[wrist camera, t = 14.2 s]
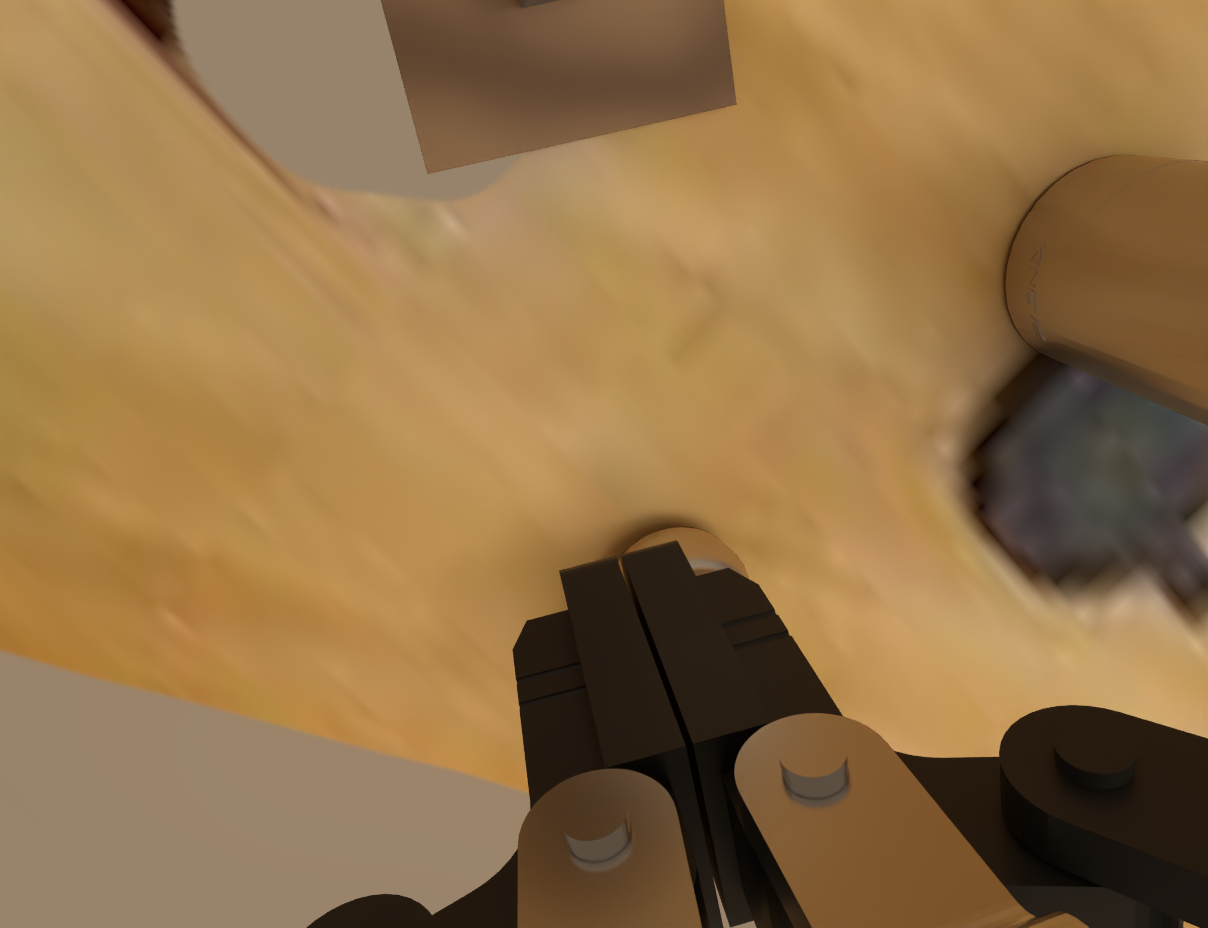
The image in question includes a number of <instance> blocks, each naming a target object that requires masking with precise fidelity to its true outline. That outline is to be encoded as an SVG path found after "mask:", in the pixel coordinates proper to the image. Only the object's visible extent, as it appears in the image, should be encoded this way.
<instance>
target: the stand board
mask: <svg viewBox="0 0 1208 928" xmlns="http://www.w3.org/2000/svg"><path fill="white" fill-rule="evenodd" d="M381 2H382V6H383V10H384V14H385V17H386V21H387V25H388V28H389V32H390V36H391V40H392V43H393V47H394V50H395V54H396V58H397V62H398V66H399V69H400V73H401V76H402V80H403V84H404V88H405V91H406V95H407V99H408V103H409V106H410V110H411V114H412V117H413V121H414V125H415V129H416V132H417V136H418V140H419V143H420V147H421V151H422V155H423V159H424V162H425V166H426V169H427V173H428V174H430V173H434V172H439V171H443V170H448V169H452V168H456V167H461V166H465V165H470V164H474V163H478V162H483V161H487V160H492V159H496V158H501V157H505V156H510V155H514V154H519V153H523V152H528V151H532V150H537V149H541V148H545V147H550V146H554V145H559V144H563V143H568V142H572V141H577V140H581V139H585V138H590V137H594V136H599V135H603V134H608V133H612V132H617V131H621V130H625V129H630V128H634V127H639V126H643V125H648V124H652V123H657V122H661V121H666V120H670V119H674V118H679V117H683V116H688V115H692V114H697V113H701V112H706V111H710V110H714V109H719V108H723V107H728V106H732V105H737V103H736V96H735V88H734V80H733V72H732V65H731V57H730V49H729V41H728V34H727V26H726V18H725V10H724V3H723V0H559V1H554V2H549V3H545V4H540V5H535V6H531V7H526V8H521V5H520V0H381Z"/></svg>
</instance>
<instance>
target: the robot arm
mask: <svg viewBox="0 0 1208 928" xmlns="http://www.w3.org/2000/svg"><path fill="white" fill-rule="evenodd" d="M1005 288H1006V297H1007V305H1008V309H1009V312H1010V315H1011V318H1012V320H1013V323H1014V326H1015V327H1016V328H1017V330H1018V331H1019V333H1020V334H1021V336H1022V337H1023V339H1024V340H1025V341H1026V342H1027V343H1028V344H1029V345H1031V346H1032V347H1033V348H1034V349H1035V350H1036V351H1038V352H1040V353H1042V354H1044V355H1046V356H1048V357H1050V358H1052V359H1054V360H1057V361H1059V362H1061V363H1064V364H1066V365H1068V366H1071V367H1073V368H1075V369H1078V370H1080V371H1082V372H1085V373H1087V374H1089V375H1092V376H1094V377H1096V378H1098V379H1100V380H1102V381H1105V382H1107V383H1109V384H1112V385H1114V386H1116V387H1119V388H1121V389H1123V390H1126V391H1128V392H1130V393H1133V394H1135V395H1137V396H1140V397H1142V398H1145V399H1147V400H1149V401H1152V402H1154V403H1156V404H1159V405H1161V406H1163V407H1166V408H1168V409H1170V410H1173V411H1175V412H1177V413H1180V414H1182V415H1184V416H1187V417H1189V418H1191V419H1194V420H1196V421H1199V422H1201V423H1203V424H1206V425H1208V162H1207V161H1197V160H1184V159H1171V158H1158V157H1145V156H1118V155H1116V156H1111V157H1107V158H1102V159H1098V160H1094V161H1092V162H1090V163H1087V164H1085V165H1083V166H1081V167H1079V168H1077V169H1074V170H1073V171H1071V172H1070V173H1069V174H1067V175H1066V176H1064V177H1063V178H1062V179H1060V180H1059V181H1057V182H1056V183H1055V184H1054V185H1053V186H1052V187H1051V188H1050V189H1049V190H1048V191H1047V192H1046V193H1045V194H1044V195H1043V196H1042V197H1041V198H1040V199H1039V200H1038V201H1037V202H1036V204H1035V205H1034V207H1033V208H1032V210H1031V211H1030V212H1029V214H1028V215H1027V217H1026V218H1025V220H1024V221H1023V223H1022V225H1021V227H1020V230H1019V232H1018V234H1017V236H1016V238H1015V240H1014V242H1013V246H1012V249H1011V253H1010V256H1009V260H1008V264H1007V273H1006V285H1005ZM620 560H621V566H622V571H623V574H622V571H621V568H620V566H619V563H618V560H617V558H616V556H614V557H610V558H606V559H602V560H598V561H594V562H590V563H587V564H583V565H579V566H575V567H571V568H567V569H563V570H559V572H560V576H561V580H562V585H563V589H564V593H565V597H566V602H567V606H568V610H566V611H562V612H558V613H554V614H551V615H547V616H543V617H539V618H535V619H532V620H528V621H526V623H525V625H524V627H523V629H522V632H521V634H520V636H519V638H518V640H517V642H516V644H515V646H514V648H513V657H514V666H515V675H516V681H517V692H518V700H519V706H520V718H521V726H522V735H523V743H524V752H525V761H526V769H527V778H528V786H529V795H530V805H531V806H530V807H531V808H530V811H529V813H528V814H527V816H526V818H525V820H524V822H523V824H522V827H521V830H520V833H519V840H518V849H517V851H516V852H515V853H514V855H513V856H512V858H511V859H510V860H509V861H508V862H507V863H506V864H505V866H504V867H503V868H502V869H501V870H500V871H499V872H498V873H497V874H495V875H494V876H493V877H492V878H491V879H490V880H488V881H487V882H486V883H484V884H483V885H481V886H480V887H478V888H477V889H475V890H474V891H472V892H471V893H469V894H467V895H466V896H464V897H462V898H460V899H459V900H457V901H455V902H454V903H452V904H450V905H449V906H447V907H445V908H444V909H442V910H440V911H438V912H437V913H435V914H434V915H431V914H430V912H429V911H428V910H427V909H426V908H425V907H424V906H423V905H421V904H420V903H418V902H416V901H414V900H413V899H411V898H407V897H403V896H400V895H392V894H380V895H371V896H367V897H362V898H358V899H355V900H353V901H350V902H348V903H345V904H343V905H340V906H339V907H336V908H335V909H333V910H331V911H329V912H327V913H326V914H324V915H323V916H321V917H320V918H318V919H317V920H315V921H314V922H313V923H312V924H310V925H309V926H308V927H307V928H723V924H722V919H721V914H720V909H719V905H718V899H717V895H716V890H715V885H714V881H715V884H716V887H717V890H718V893H719V896H720V899H721V902H722V905H723V908H724V911H725V913H726V916H727V919H728V922H729V925H730V927H733V926H736V925H740V924H743V923H747V922H750V921H754V922H755V924H756V927H757V928H1183V922H1184V921H1185V922H1188V923H1190V924H1192V925H1195V926H1197V927H1199V928H1208V739H1207V738H1204V737H1201V736H1197V735H1194V734H1191V733H1187V732H1184V731H1181V730H1177V729H1174V728H1171V727H1167V726H1164V725H1161V724H1157V723H1154V722H1151V721H1147V720H1144V719H1141V718H1137V717H1134V716H1131V715H1127V714H1124V713H1121V712H1117V711H1113V710H1109V709H1105V708H1098V707H1092V706H1078V705H1068V706H1056V707H1050V708H1045V709H1041V710H1038V711H1035V712H1032V713H1030V714H1028V715H1026V716H1024V717H1022V718H1020V719H1019V720H1018V721H1016V722H1015V723H1014V724H1012V725H1011V726H1010V728H1009V729H1008V730H1007V731H1006V733H1005V734H1004V737H1003V739H1002V741H1001V745H1000V751H999V757H965V758H931V757H921V756H913V755H908V754H904V753H900V752H896V751H893V749H892V748H891V747H890V746H889V744H888V743H887V742H886V741H885V740H884V739H883V738H882V737H881V736H880V735H879V734H878V733H876V732H875V731H874V730H872V729H871V728H869V727H868V726H866V725H864V724H862V723H860V722H858V721H855V720H852V719H849V718H847V717H843V715H842V714H841V712H840V711H839V709H838V708H837V706H836V704H835V703H834V701H833V700H832V698H831V697H830V695H829V694H828V692H827V690H826V689H825V687H824V686H823V684H822V683H821V681H820V680H819V678H818V676H817V675H816V673H815V672H814V670H813V669H812V667H811V666H810V664H809V662H808V661H807V659H806V658H805V656H804V655H803V653H802V651H801V650H800V648H799V647H798V645H797V644H796V642H795V641H794V639H793V637H792V636H789V633H788V630H787V628H786V627H785V625H784V623H783V622H782V620H781V619H780V617H779V616H778V615H776V613H775V609H774V608H773V606H772V605H771V603H770V602H769V600H768V599H767V597H766V595H765V594H764V592H763V591H762V589H761V588H760V586H759V585H758V584H757V583H755V582H753V581H751V580H750V579H748V578H746V577H744V576H742V575H741V574H739V573H737V572H735V571H734V570H732V569H730V568H725V569H721V570H718V571H714V572H710V573H706V574H702V575H699V576H696V575H695V573H694V571H693V569H692V567H691V565H690V563H689V562H688V560H687V558H686V556H685V554H684V552H683V550H682V548H681V546H680V544H679V543H678V541H677V540H675V541H671V542H667V543H663V544H659V545H655V546H651V547H648V548H644V549H640V550H636V551H632V552H628V553H624V554H621V555H620ZM623 576H624V577H623ZM713 878H714V880H713Z"/></svg>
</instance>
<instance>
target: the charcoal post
mask: <svg viewBox="0 0 1208 928" xmlns="http://www.w3.org/2000/svg"><path fill="white" fill-rule="evenodd" d="M554 1H559V0H520V5H521V8H526V7H531V6H535V5H540V4H545V3H549V2H554Z"/></svg>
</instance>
